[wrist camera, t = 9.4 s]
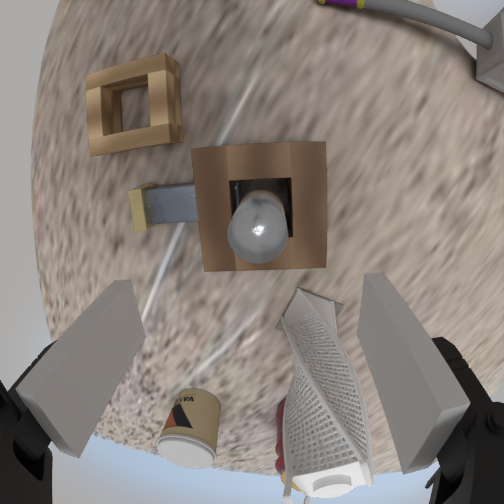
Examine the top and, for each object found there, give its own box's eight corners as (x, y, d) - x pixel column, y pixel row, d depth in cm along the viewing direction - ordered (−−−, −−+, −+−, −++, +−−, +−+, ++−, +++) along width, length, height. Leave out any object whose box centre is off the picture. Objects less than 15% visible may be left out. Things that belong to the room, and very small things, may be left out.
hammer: (302, -17, 19) (572, 87, 12) (310, -65, 16) (565, 31, 9) (320, 38, 32) (514, 102, 25) (326, -4, 30) (515, 59, 23)
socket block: (217, 245, 37) (204, 271, 30) (208, 147, 33) (191, 149, 26) (315, 241, 36) (326, 267, 29) (313, 141, 32) (325, 141, 25)
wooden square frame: (106, 81, 31) (86, 75, 26) (178, 63, 30) (165, 53, 25) (110, 153, 34) (90, 156, 29) (183, 141, 33) (169, 142, 29)
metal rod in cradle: (245, 178, 34) (224, 207, 19) (280, 176, 34) (287, 204, 19) (247, 211, 36) (230, 264, 21) (281, 210, 35) (288, 262, 20)
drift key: (148, 221, 37) (134, 231, 33) (143, 184, 35) (128, 190, 31) (242, 215, 36) (238, 225, 32) (239, 175, 34) (235, 180, 30)
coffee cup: (194, 377, 46) (176, 433, 35) (236, 405, 48) (228, 461, 36) (163, 398, 48) (144, 448, 37) (203, 423, 50) (191, 474, 39)
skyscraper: (266, 323, 41) (254, 520, 15) (291, 275, 39) (310, 485, 12) (319, 341, 42) (347, 525, 16) (346, 297, 39) (415, 486, 13)
